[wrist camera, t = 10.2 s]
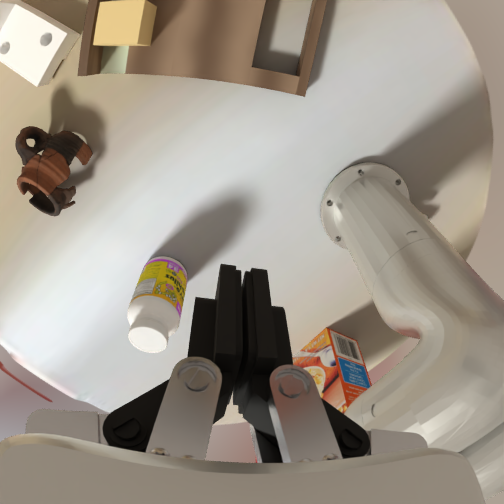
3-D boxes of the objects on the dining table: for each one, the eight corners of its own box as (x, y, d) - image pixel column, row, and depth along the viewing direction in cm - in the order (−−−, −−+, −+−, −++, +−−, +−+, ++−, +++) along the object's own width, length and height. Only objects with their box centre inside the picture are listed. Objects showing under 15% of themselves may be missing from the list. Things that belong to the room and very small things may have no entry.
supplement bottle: (195, 284, 46) (185, 353, 35) (156, 295, 47) (139, 361, 36) (175, 248, 42) (158, 315, 32) (135, 261, 43) (109, 326, 33)
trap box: (326, -22, 24) (342, -35, 19) (300, 94, 32) (312, 100, 27) (122, -42, 21) (103, -56, 16) (100, 72, 29) (77, 76, 24)
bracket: (-5, 45, 24) (-41, 50, 17) (20, -1, 21) (-15, -3, 15) (52, 83, 29) (17, 92, 22) (81, 34, 26) (48, 32, 20)
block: (157, 6, 23) (145, -1, 20) (150, 45, 26) (137, 43, 22) (116, 8, 23) (100, 2, 19) (110, 46, 25) (93, 45, 22)
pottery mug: (111, 167, 36) (76, 217, 32) (76, 180, 41) (46, 223, 37) (54, 97, 28) (7, 145, 23) (27, 123, 32) (-11, 166, 28)
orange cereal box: (326, 327, 52) (366, 496, 27) (357, 340, 55) (401, 491, 30) (252, 390, 63) (259, 525, 38) (282, 398, 65) (296, 524, 40)
